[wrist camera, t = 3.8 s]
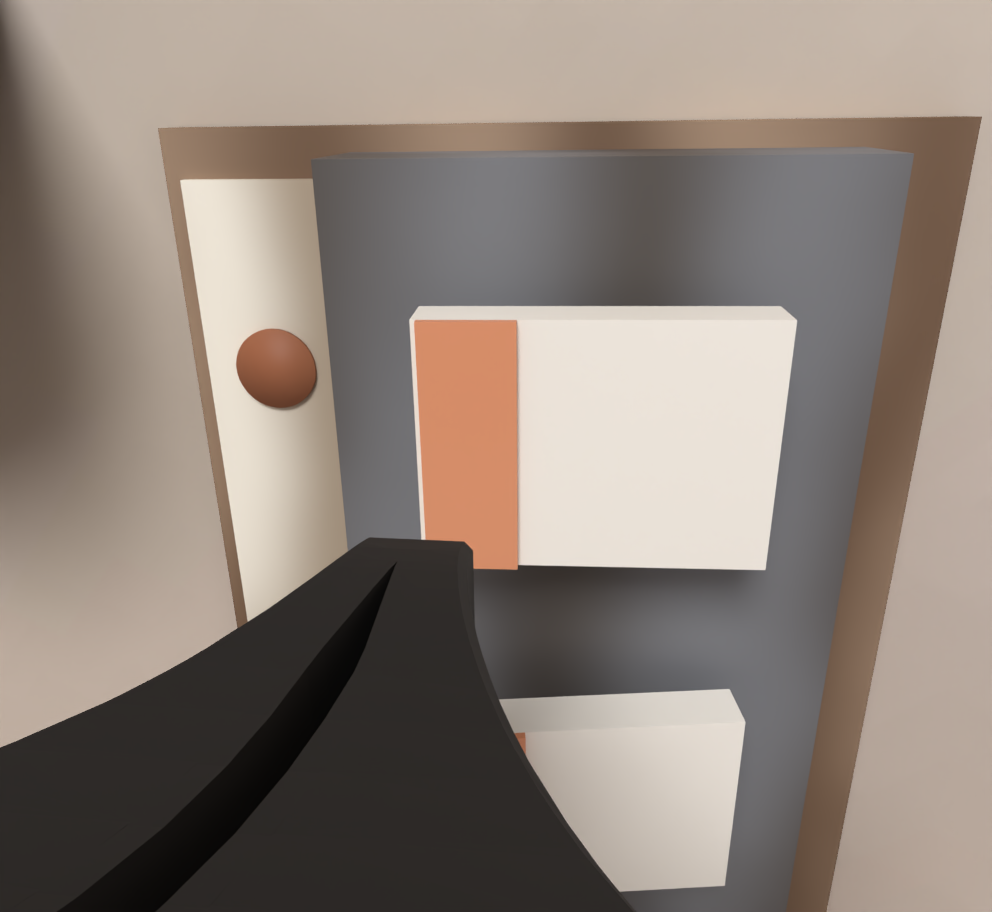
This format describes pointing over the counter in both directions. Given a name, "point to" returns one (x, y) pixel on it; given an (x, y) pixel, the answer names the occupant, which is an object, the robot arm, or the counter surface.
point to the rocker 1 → (601, 432)
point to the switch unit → (592, 282)
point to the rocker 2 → (640, 779)
